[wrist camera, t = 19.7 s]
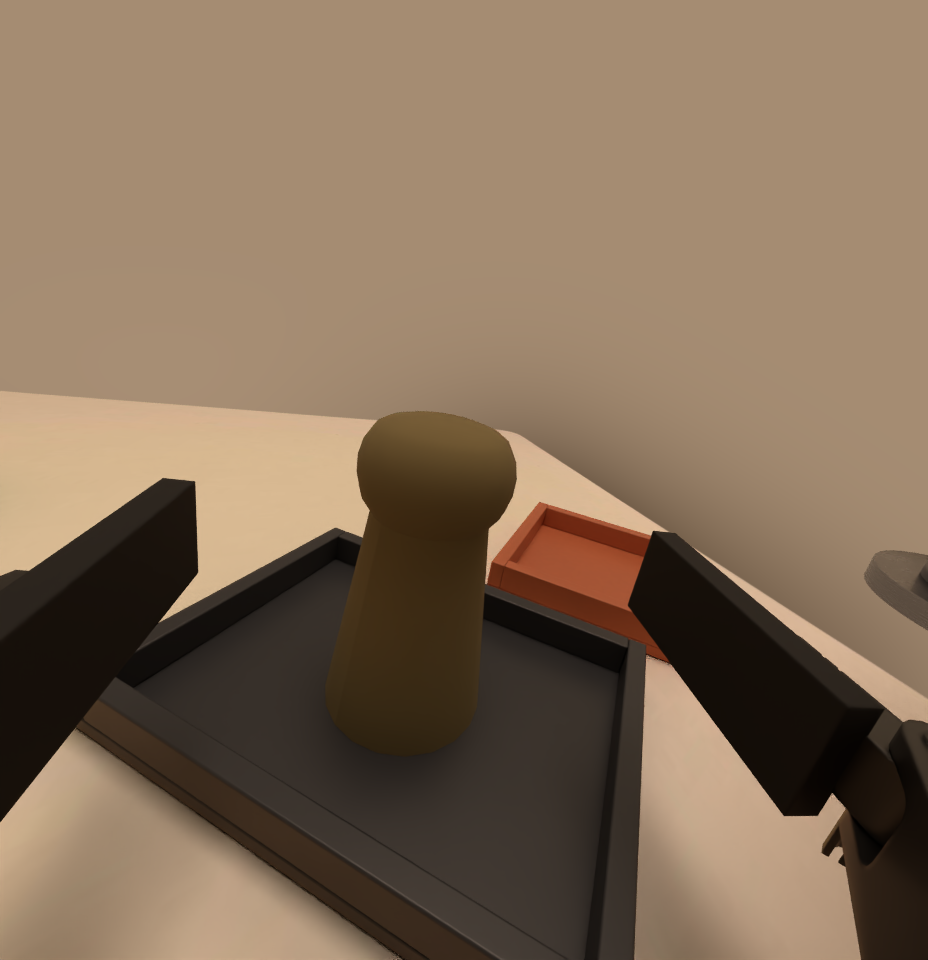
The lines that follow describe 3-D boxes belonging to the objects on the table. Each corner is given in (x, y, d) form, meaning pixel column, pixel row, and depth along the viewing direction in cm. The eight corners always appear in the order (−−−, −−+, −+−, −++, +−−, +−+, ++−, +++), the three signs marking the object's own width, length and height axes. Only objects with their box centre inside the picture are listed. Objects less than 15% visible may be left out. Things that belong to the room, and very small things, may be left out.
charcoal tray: (633, 679, 21) (647, 644, 21) (602, 1100, 9) (631, 1049, 9) (332, 558, 27) (335, 526, 26) (69, 723, 15) (60, 674, 14)
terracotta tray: (684, 573, 33) (694, 548, 32) (697, 673, 23) (711, 640, 22) (533, 525, 37) (539, 501, 36) (484, 592, 26) (491, 561, 26)
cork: (442, 626, 22) (483, 403, 18) (505, 728, 17) (579, 451, 13) (312, 649, 19) (330, 390, 15) (343, 780, 14) (380, 445, 10)
